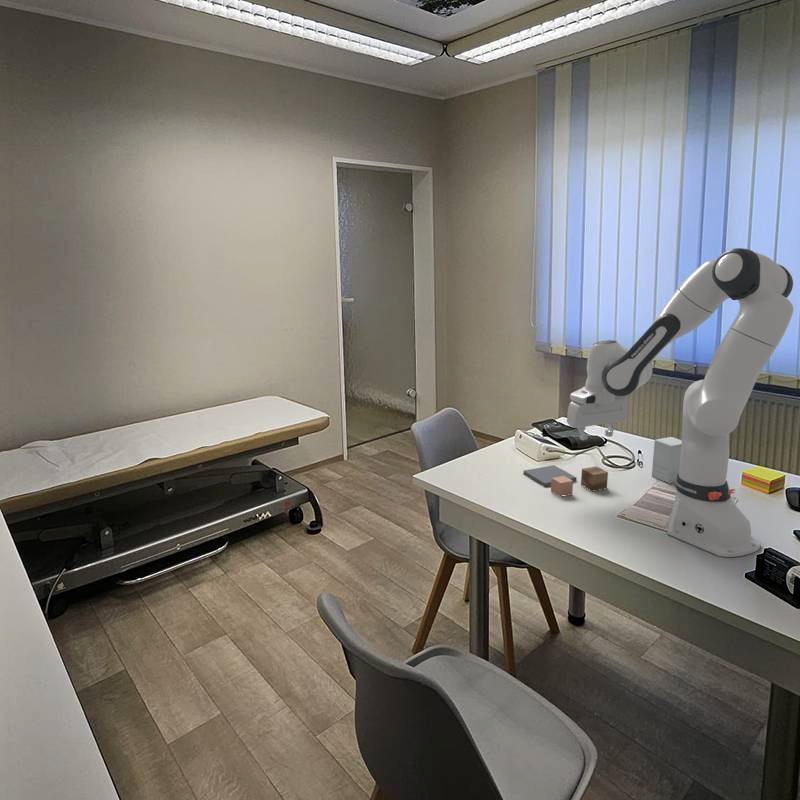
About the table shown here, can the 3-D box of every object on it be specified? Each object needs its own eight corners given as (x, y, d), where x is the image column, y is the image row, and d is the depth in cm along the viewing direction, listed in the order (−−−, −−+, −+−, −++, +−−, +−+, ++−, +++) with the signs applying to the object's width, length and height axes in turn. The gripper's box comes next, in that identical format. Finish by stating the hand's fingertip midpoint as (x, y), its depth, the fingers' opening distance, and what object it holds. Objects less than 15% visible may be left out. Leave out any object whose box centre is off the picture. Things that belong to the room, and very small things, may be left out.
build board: (576, 480, 195) (576, 477, 195) (544, 486, 191) (544, 483, 191) (553, 468, 206) (554, 465, 206) (523, 473, 202) (523, 470, 201)
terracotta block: (572, 494, 185) (573, 480, 184) (559, 497, 183) (560, 483, 182) (563, 489, 189) (563, 475, 188) (550, 491, 187) (551, 478, 186)
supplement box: (686, 480, 194) (690, 442, 191) (667, 484, 191) (671, 445, 188) (668, 472, 201) (671, 436, 198) (650, 476, 198) (653, 439, 195)
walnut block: (606, 488, 189) (608, 472, 188) (592, 491, 187) (593, 474, 186) (595, 482, 194) (596, 466, 193) (580, 485, 192) (581, 468, 191)
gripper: (620, 388, 190) (616, 431, 193) (565, 394, 182) (562, 438, 186) (635, 393, 184) (630, 437, 188) (578, 399, 177) (575, 445, 180)
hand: (596, 437), depth 187 cm, fingers open, 8 cm apart
